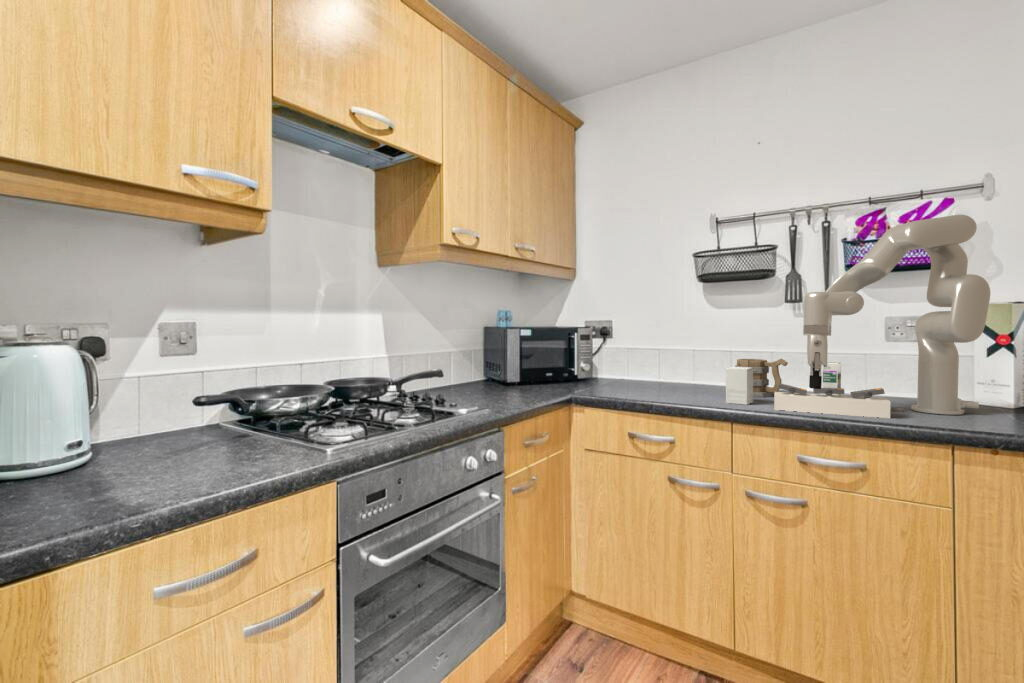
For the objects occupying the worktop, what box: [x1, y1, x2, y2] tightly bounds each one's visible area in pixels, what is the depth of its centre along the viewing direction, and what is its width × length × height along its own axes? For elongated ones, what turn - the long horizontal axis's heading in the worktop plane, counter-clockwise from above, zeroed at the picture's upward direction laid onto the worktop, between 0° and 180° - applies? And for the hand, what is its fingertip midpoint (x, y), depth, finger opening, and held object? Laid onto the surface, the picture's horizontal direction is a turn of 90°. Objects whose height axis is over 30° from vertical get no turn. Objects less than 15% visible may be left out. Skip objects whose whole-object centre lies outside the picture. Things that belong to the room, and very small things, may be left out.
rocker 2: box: [812, 387, 845, 396], centre depth 152 cm, size 8×4×2 cm, turn 61°
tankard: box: [734, 358, 789, 398], centre depth 186 cm, size 20×13×15 cm, turn 30°
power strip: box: [773, 391, 906, 419], centre depth 151 cm, size 34×8×5 cm, turn 61°
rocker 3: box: [850, 387, 886, 398], centre depth 147 cm, size 8×4×2 cm, turn 61°
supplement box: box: [725, 366, 754, 406], centre depth 170 cm, size 7×7×13 cm
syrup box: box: [821, 361, 842, 395], centre depth 168 cm, size 6×6×14 cm
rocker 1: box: [778, 382, 808, 395], centre depth 157 cm, size 8×4×2 cm, turn 61°
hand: (815, 388), depth 153 cm, fingers closed
